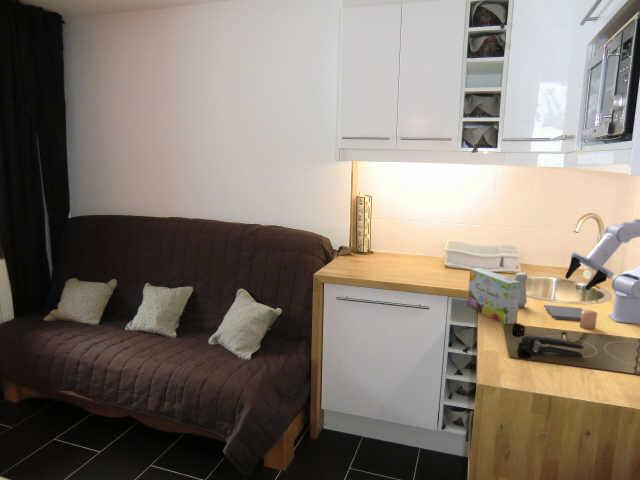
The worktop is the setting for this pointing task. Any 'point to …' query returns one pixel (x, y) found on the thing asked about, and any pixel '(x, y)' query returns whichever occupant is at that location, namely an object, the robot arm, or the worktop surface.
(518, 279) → the salt shaker
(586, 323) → the toy block
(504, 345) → the worktop surface
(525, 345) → the can opener
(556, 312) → the plate
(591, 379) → the worktop surface
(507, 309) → the snack box
